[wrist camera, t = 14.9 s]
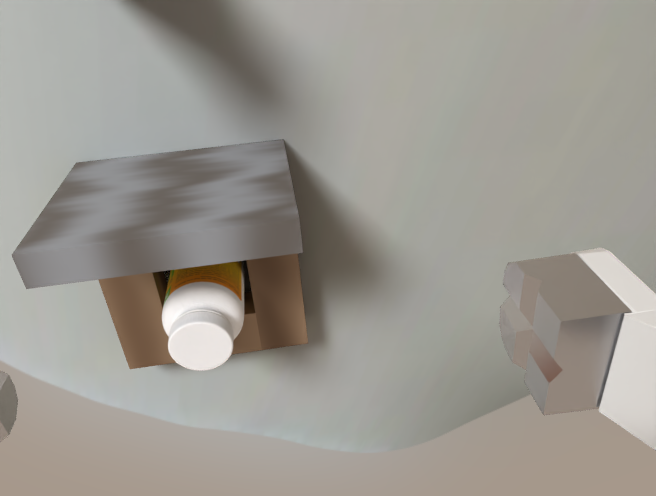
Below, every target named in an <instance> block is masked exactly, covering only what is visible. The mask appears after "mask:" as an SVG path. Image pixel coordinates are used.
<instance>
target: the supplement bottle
mask: <svg viewBox="0 0 656 496" xmlns="http://www.w3.org/2000/svg"><path fill="white" fill-rule="evenodd" d="M243 322H244V263H243V261H236V262H228V263H221V264H213V265H205V266H198V267H190V268H182V269H175V270H170V275H169V281H168V286H167V291H166V296H165V301H164V305H163V310H162V324H163V327H164V330H165V332H166V334H167V335H168V336H169V340H168V350H169V353H170V355H171V357H172V358H173V359H174V361H175V362H177V363H178V364H179V365H181V366H183V367H185V368H188V369H192V370H210V369H213V368H216V367H218V366H220V365H222V364H223V363H225V362H226V361H227V360H228V359H229V357H230V356H231V353H232V351H233V341H234V339H235V338H236V337H237V336H238V334H239V333H240V331H241V329H242V326H243Z"/></svg>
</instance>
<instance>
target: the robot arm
mask: <svg viewBox="0 0 656 496" xmlns="http://www.w3.org/2000/svg"><path fill="white" fill-rule="evenodd" d="M503 285H504V287H505V288H506V290H507V291H508V293H509V294H510V296H509V297H508V298H507V299H506V300H505V302H504V303H503V304H502V305H501V306H500V321H499V324H500V330H501V337H502V341H503V344H504V346H505V349H506V351H507V353H508V355H509V357H510V359H511V360H512V362H513V363H515V364H517V365H518V366H520V367H522V368H524V369H525V370H526V374H525V381H524V383H525V385H526V386H527V388H528V390H529V392H530V393H531V395H532V396H533V398H534V400H535V402H536V403H537V405H538V407H539V408H540V410H541V412H542V413H543V415H550V414H557V413H566V412H574V411H582V410H590V409H598V408H599V412H600V413H602V414H603V415H605V416H606V417H608V418H609V419H611V420H612V421H613V422H615V423H616V424H618V425H619V426H621V427H622V428H624V429H625V430H626V431H628V432H629V433H631V434H632V435H634V436H635V437H637V438H638V439H640V440H641V441H642V442H644V443H646V444H647V445H648V446H650V447H651V448H653V449H654V450H656V294H655V293H654V292H653V291H652V290H651V289H650V288H649V287H648V286H646V285H645V284H644V283H643V282H642V281H641V280H640V279H639V278H638V277H637V276H636V275H635V274H634V273H632V272H631V271H630V270H629V269H628V268H627V267H626V266H625V265H624V264H623V263H622V262H621V261H620V260H619V259H617V258H616V257H615V256H614V255H613V254H612V253H611V252H610V251H608V250H606V249H603V248H596V249H590V250H584V251H578V252H572V253H569V254H565V255H558V256H551V257H544V258H537V259H530V260H523V261H516V262H509V263H508V264H507V267H506V269H505V271H504V279H503ZM17 404H18V399H17V394H16V390H15V386H14V384H13V382H12V380H11V379H10V376H9V375H8V374H6V373H5V372H3V371H1V370H0V442H1V441H2V440H4V439H5V438H6V437H7V436H8V435H9V434H10V431H11V429H12V427H13V425H14V422H15V420H16V414H17Z"/></svg>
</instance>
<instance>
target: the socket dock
mask: <svg viewBox="0 0 656 496" xmlns="http://www.w3.org/2000/svg"><path fill="white" fill-rule="evenodd" d="M298 253H303V247H302V237H301V228H300V219H299V214H298V209H297V204H296V199H295V194H294V189H293V184H292V179H291V174H290V170H289V165H288V160H287V155H286V150H285V145H284V140H274V141H265V142H256V143H248V144H239V145H230V146H221V147H212V148H203V149H194V150H186V151H177V152H168V153H159V154H150V155H141V156H132V157H124V158H115V159H106V160H97V161H88V162H79V163H76V164H75V165H74V167H73V168H72V170H71V171H70V172H69V174H68V175H67V177H66V178H65V180H64V181H63V182H62V184H61V185H60V187H59V188H58V190H57V191H56V192H55V194H54V195H53V197H52V198H51V200H50V201H49V202H48V204H47V205H46V207H45V208H44V210H43V211H42V212H41V214H40V215H39V217H38V218H37V220H36V221H35V222H34V224H33V225H32V227H31V228H30V230H29V231H28V232H27V234H26V235H25V237H24V238H23V240H22V241H21V242H20V244H19V245H18V247H17V248H16V250H15V251H14V252H13V254H12V257H13V260H14V262H15V264H16V266H17V269H18V271H19V273H20V276H21V278H22V280H23V282H24V285H25V287H26V289H30V288H37V287H45V286H53V285H60V284H68V283H76V282H83V281H91V280H99V283H100V285H101V288H102V291H103V294H104V297H105V300H106V303H107V305H108V308H109V311H110V314H111V317H112V320H113V323H114V325H115V328H116V331H117V334H118V337H119V340H120V343H121V345H122V348H123V351H124V354H125V357H126V360H127V362H128V365H129V368H130V369H135V368H141V367H148V366H155V365H162V364H169V363H176V362H175V361H174V359H173V358H172V357H171V355H170V353H169V350H168V340H169V336H168V335H167V334H166V332H165V330H164V327H163V324H162V310H163V305H164V301H165V296H166V291H167V282H166V279H165V275H164V271H167V270H175V269H182V268H190V267H198V266H205V265H213V264H221V263H228V262H236V261H244V260H246V261H247V267H248V273H249V279H250V284H251V290H252V291H248V292H244V322H243V326H242V329H241V331H240V333H239V334H238V336H237V337H236V338H235V339H234V341H233V351H232V353H231V354H238V353H245V352H252V351H259V350H265V349H272V348H279V347H286V346H293V345H300V344H307V343H308V338H307V330H306V321H305V312H304V303H303V295H302V286H301V277H300V268H299V260H298Z"/></svg>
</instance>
